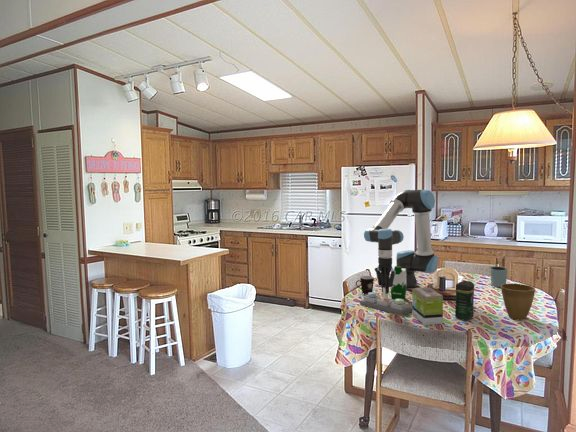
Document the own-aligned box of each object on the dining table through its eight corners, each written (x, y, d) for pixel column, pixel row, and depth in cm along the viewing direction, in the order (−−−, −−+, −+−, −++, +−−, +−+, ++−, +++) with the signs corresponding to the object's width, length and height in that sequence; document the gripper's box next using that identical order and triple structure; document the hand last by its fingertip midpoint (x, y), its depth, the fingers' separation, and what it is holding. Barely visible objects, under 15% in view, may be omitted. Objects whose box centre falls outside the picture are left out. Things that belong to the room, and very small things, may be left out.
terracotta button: (391, 303, 220) (391, 299, 220) (386, 305, 217) (386, 300, 217) (384, 301, 224) (384, 297, 224) (379, 303, 221) (379, 299, 220)
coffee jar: (469, 321, 196) (469, 285, 194) (453, 318, 201) (453, 282, 200) (475, 316, 203) (476, 281, 201) (460, 313, 208) (460, 278, 207)
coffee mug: (373, 290, 254) (373, 275, 253) (374, 294, 245) (374, 279, 244) (355, 290, 255) (354, 275, 254) (355, 294, 246) (355, 279, 246)
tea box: (411, 315, 207) (411, 287, 206) (430, 314, 208) (430, 286, 207) (423, 325, 192) (423, 296, 191) (443, 324, 193) (443, 294, 192)
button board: (412, 311, 213) (412, 302, 213) (402, 315, 207) (402, 307, 206) (370, 300, 234) (370, 292, 234) (359, 304, 228) (359, 296, 227)
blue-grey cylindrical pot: (507, 285, 259) (508, 267, 258) (506, 289, 250) (507, 270, 249) (490, 283, 264) (490, 265, 263) (488, 287, 256) (489, 268, 255)
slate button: (378, 297, 227) (378, 293, 227) (373, 299, 224) (373, 295, 223) (371, 296, 230) (371, 291, 230) (366, 297, 227) (366, 293, 227)
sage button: (405, 304, 213) (405, 299, 213) (400, 306, 210) (400, 301, 210) (398, 302, 217) (398, 298, 217) (393, 304, 214) (393, 300, 214)
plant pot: (540, 318, 197) (541, 287, 196) (524, 325, 189) (525, 292, 188) (509, 311, 210) (510, 281, 208) (494, 316, 202) (494, 286, 200)
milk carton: (389, 300, 233) (389, 267, 232) (392, 296, 242) (392, 263, 240) (405, 301, 230) (405, 268, 228) (407, 297, 238) (407, 264, 236)
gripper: (371, 256, 220) (371, 297, 223) (391, 259, 211) (391, 302, 213) (379, 254, 225) (379, 294, 227) (399, 257, 216) (399, 299, 218)
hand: (385, 298), depth 220 cm, fingers closed
